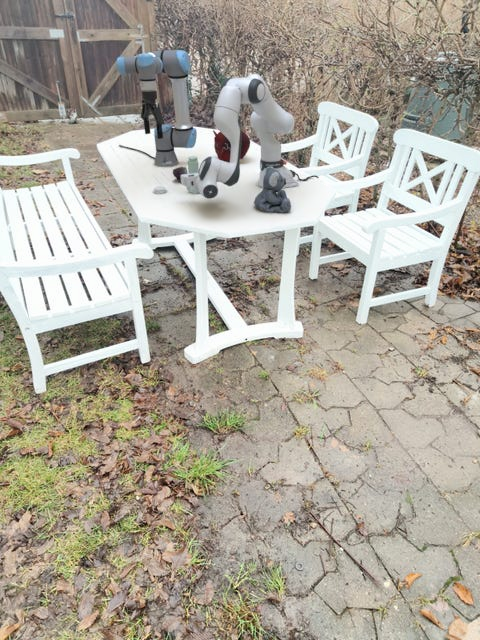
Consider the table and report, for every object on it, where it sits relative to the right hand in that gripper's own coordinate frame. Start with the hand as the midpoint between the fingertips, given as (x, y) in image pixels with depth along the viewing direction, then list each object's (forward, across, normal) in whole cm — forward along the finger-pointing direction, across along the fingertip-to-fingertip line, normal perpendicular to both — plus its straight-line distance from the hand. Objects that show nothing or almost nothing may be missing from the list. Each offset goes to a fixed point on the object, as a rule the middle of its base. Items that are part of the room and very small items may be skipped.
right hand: (198, 173), depth 230 cm
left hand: (+19, +19, -15) cm, 31 cm away
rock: (+33, +4, +14) cm, 36 cm away
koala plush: (-23, -32, +14) cm, 42 cm away
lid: (+18, +19, +12) cm, 29 cm away
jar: (+12, 0, +14) cm, 19 cm away
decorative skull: (+68, -35, +15) cm, 78 cm away
